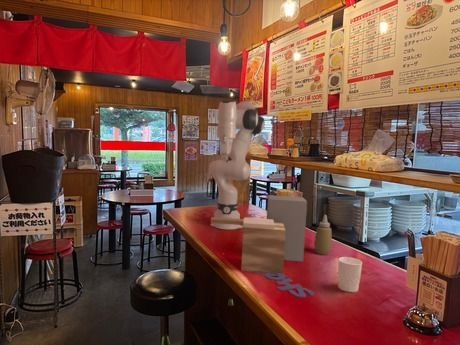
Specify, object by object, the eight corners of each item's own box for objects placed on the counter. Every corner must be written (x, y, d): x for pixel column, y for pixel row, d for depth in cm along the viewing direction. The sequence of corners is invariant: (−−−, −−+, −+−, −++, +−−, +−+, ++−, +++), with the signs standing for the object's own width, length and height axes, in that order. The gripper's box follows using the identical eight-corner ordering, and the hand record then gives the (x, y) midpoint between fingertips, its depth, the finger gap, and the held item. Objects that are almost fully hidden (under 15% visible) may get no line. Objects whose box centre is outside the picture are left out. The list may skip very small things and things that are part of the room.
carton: (264, 250, 157) (267, 195, 155) (299, 252, 156) (303, 197, 154) (265, 258, 145) (269, 199, 143) (303, 261, 144) (307, 201, 142)
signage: (316, 293, 112) (293, 298, 108) (316, 295, 112) (292, 300, 108) (268, 264, 137) (247, 267, 133) (268, 266, 137) (247, 269, 133)
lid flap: (212, 219, 140) (212, 215, 140) (272, 223, 139) (273, 219, 139) (209, 224, 131) (209, 220, 130) (274, 228, 129) (274, 225, 129)
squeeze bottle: (319, 249, 163) (322, 212, 162) (334, 253, 158) (337, 215, 156) (310, 252, 158) (312, 214, 156) (325, 257, 152) (328, 217, 150)
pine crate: (242, 260, 142) (244, 220, 141) (280, 263, 141) (282, 223, 140) (241, 270, 130) (243, 227, 129) (282, 273, 129) (285, 230, 128)
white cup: (347, 294, 114) (349, 265, 113) (331, 285, 121) (333, 258, 120) (364, 291, 117) (367, 263, 116) (348, 282, 124) (350, 256, 123)
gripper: (231, 134, 149) (230, 165, 150) (234, 135, 169) (232, 163, 170) (217, 133, 149) (216, 164, 150) (221, 134, 170) (220, 162, 171)
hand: (224, 163), depth 160 cm, fingers open, 8 cm apart
